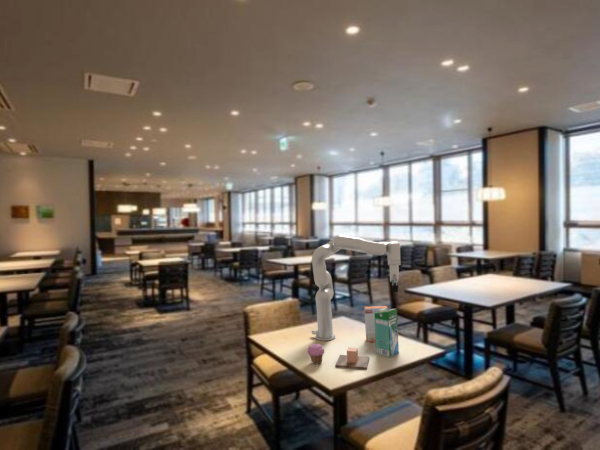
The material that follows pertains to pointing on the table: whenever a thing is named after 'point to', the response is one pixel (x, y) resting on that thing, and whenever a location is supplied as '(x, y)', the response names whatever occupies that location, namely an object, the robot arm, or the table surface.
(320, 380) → the table surface
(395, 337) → the milk carton
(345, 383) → the table surface
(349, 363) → the serving board
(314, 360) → the cupcake
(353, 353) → the terracotta block
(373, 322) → the cracker box
